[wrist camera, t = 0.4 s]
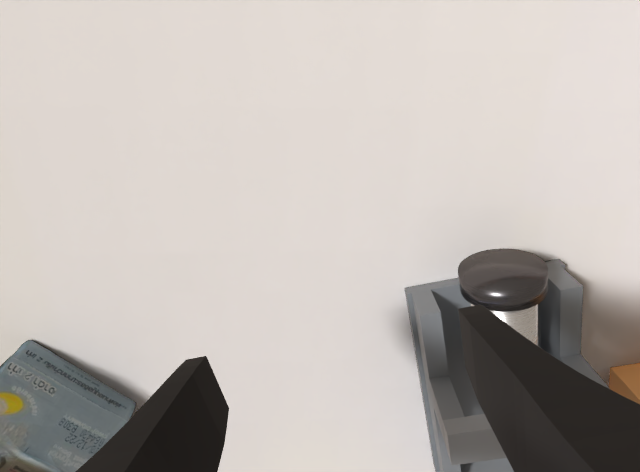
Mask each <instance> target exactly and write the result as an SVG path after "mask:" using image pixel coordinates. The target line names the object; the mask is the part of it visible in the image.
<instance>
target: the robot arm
mask: <svg viewBox="0 0 640 472" xmlns="http://www.w3.org/2000/svg"><path fill="white" fill-rule="evenodd" d="M458 311H459V319H460V327H461V336H462V344H463V352H464V361H465V368H466V370H467V373H468V376H469V379H470V381H471V384H472V387H473V389H474V392H475V394H476V397H477V400H478V402H479V404H480V406H481V408H482V410H483V412H484V414H485V416H486V418H487V420H488V422H489V424H490V426H491V428H492V430H493V432H494V434H495V436H496V438H497V439H498V441H499V443H500V445H501V447H502V449H503V451H504V453H505V455H506V457H507V459H508V461H509V463H510V465H511V467H512V469H513V471H514V472H640V404H638V403H636V402H634V401H632V400H630V399H628V398H626V397H624V396H622V395H620V394H618V393H616V392H614V391H612V390H610V389H608V388H607V387H605V386H603V385H601V384H599V383H597V382H595V381H593V380H591V379H590V378H588V377H586V376H584V375H583V374H581V373H579V372H577V371H576V370H574V369H573V368H571V367H569V366H568V365H566V364H564V363H563V362H561V361H560V360H558V359H557V358H555V357H553V356H552V355H550V354H549V353H547V352H546V351H544V350H543V349H542V348H540V347H539V346H537V345H536V344H534V343H533V342H531V341H530V340H528V339H527V338H526V337H524V336H523V335H521V334H520V333H519V332H517V331H516V330H515V329H513V328H512V327H511V326H509V325H508V324H507V323H505V322H504V321H503V320H501V319H500V318H499V317H497V316H496V315H495V314H494V313H492V312H491V311H490V310H488V309H487V308H486V307H484V306H483V305H481V304H480V305H475V306H470V307H464V308H459V309H458ZM228 411H229V407H228V405H227V403H226V401H225V398H224V396H223V394H222V391H221V389H220V387H219V384H218V382H217V380H216V378H215V375H214V373H213V371H212V368H211V366H210V364H209V362H208V359H207V357H206V356H204V357H199V358H193V359H188V360H186V361H185V362H184V363H183V364H181V365H180V366H179V367H178V368H177V370H176V371H175V372H174V373H173V374H172V375H171V376H170V377H169V378H168V379H167V380H166V381H165V382H164V383H163V384H162V386H161V387H160V388H159V389H158V390H157V391H156V392H155V393H154V394H153V395H152V396H151V397H150V399H149V400H148V401H147V402H146V403H145V404H144V405H143V406H142V407H141V408H140V409H139V410H138V411H137V412H136V414H135V415H134V416H133V417H132V418H131V419H130V420H129V421H128V422H127V423H126V424H125V425H124V426H123V427H122V428H121V429H120V430H119V431H118V432H117V433H116V434H115V435H114V436H113V437H112V438H111V439H110V440H109V441H108V442H107V443H106V444H105V445H104V446H103V447H102V448H101V449H100V450H99V451H98V452H96V453H95V454H94V455H93V456H92V457H91V458H90V459H89V460H88V461H87V462H86V463H85V464H83V465H82V466H81V467H80V468H79V469H78V470H77V471H75V472H217V471H218V467H219V463H220V459H221V455H222V451H223V447H224V442H225V435H226V428H227V420H228Z"/></svg>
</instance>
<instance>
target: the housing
mask: <svg viewBox="0 0 640 472" xmlns="http://www.w3.org/2000/svg"><path fill="white" fill-rule="evenodd" d="M545 263H546V265H547V267H548V293H547V296H546V298H545V299H544V300H543V301H542V302H540V303H539V304H538V346H539V347H540V348H542V349H543V350H544V351H546V352H547V353H549V354H550V355H552V356H553V357H555V358H557V359H558V360H560V361H561V362H563V363H564V364H566V365H568V366H569V367H571V368H573V369H574V370H576V371H577V372H579V373H581V374H583V375H584V376H586V377H588V378H590V379H591V380H593V381H595V382H597V383H599V384H601V385H603V386H605V387H607V388H608V389H610V388H609V387H608V386H607V385H606V383H605V382H604V381H603V380H602V379H601V378H600V376H599V375H598V374H597V373H596V372H595V371H594V369H593V368H592V367H591V366H590V365H589V363H588V362H587V361H586V360H585V359H584V358H583V356H582V355H581V330H582V304H583V286H582V285H581V284H580V283H579V282H578V281H577V280H576V279H575V278H574V277H572V276H571V275H570V274H569V273H568V272H567V271H566V270H565V264H564V263H563V262H562V261H561V260H560V259H557V260H552V261H546V262H545ZM405 294H406V300H407V306H408V312H409V318H410V324H411V330H412V336H413V342H414V348H415V354H416V360H417V366H418V372H419V378H420V384H421V390H422V396H423V402H424V408H425V414H426V420H427V426H428V432H429V438H430V444H431V450H432V456H433V463H434V467H435V471H436V472H514V471H513V469H512V467H511V465H510V463H509V461H508V459H507V457H506V455H505V453H504V451H503V449H502V447H501V445H500V443H499V441H498V439H497V438H496V436H495V434H494V432H493V430H492V428H491V426H490V424H489V422H488V420H487V418H486V416H485V414H484V412H483V410H482V408H481V406H480V404H479V402H478V400H477V397H476V394H475V392H474V389H473V387H472V384H471V381H470V379H469V376H468V373H467V370H466V368H465V361H464V352H463V344H462V336H461V327H460V319H459V311H458V309H459V308H464V307H470V306H471V304H470V303H469V302H468V301H466V300H465V299H464V298H463V296H462V294H461V292H460V285H459V278H455V279H450V280H445V281H439V282H434V283H428V284H423V285H418V286H412V287H407V288H405ZM610 390H611V389H610Z"/></svg>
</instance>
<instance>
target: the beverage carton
mask: <svg viewBox="0 0 640 472" xmlns="http://www.w3.org/2000/svg"><path fill="white" fill-rule="evenodd" d="M135 406H136V403H135V402H134V401H133V400H131V399H129V398H128V397H126V396H124V395H122V394H120V393H119V392H117V391H115V390H114V389H112V388H110V387H108V386H107V385H105V384H103V383H102V382H100V381H98V380H97V379H95V378H94V377H92V376H90V375H89V374H87V373H86V372H84V371H82V370H81V369H79V368H77V367H76V366H74V365H73V364H71V363H69V362H67V361H66V360H64V359H62V358H61V357H59V356H57V355H56V354H54V353H53V352H51V351H50V350H48V349H46V348H44V347H42V346H41V345H39V344H37V343H36V342H34V341H32V340H28V341H26V342H25V343H23V344H22V345H21V346H20V348H19V349H18V350H17V351H16V352H15V353H14V354H13V355H12V356H11V357H9V358H8V359H7V360H6V361H5V362H4V363H3V364H2V365H1V366H0V472H75V471H77V470H78V469H79V468H80V467H81V466H82V465H83V464H85V463H86V462H87V461H88V460H89V459H90V458H91V457H92V456H93V455H94V454H95V453H96V452H98V451H99V450H100V449H101V448H102V447H103V446H104V445H105V444H106V443H107V442H108V441H109V440H110V439H111V438H112V437H113V436H114V435H115V434H116V433H117V432H118V431H119V430H120V429H121V428H122V427H123V426H124V425H125V424H126V423H127V422H128V421H129V420H130V419H131V416H132V414H133V411H134V409H135Z"/></svg>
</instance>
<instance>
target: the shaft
mask: <svg viewBox="0 0 640 472" xmlns="http://www.w3.org/2000/svg"><path fill="white" fill-rule="evenodd" d="M458 275H459V285H460V292H461V294H462V296H463V298H464V299H465V300H466V301H468V302H469V303H470V304H471V306H475V305H480V304H481V305H483V306H484V307H486V308H487V309H488V310H490V311H491V312H492V313H494V314H495V315H496V316H497V317H499V318H500V319H501V320H503V321H504V322H505V323H507V324H508V325H509V326H511V327H512V328H513V329H515V330H516V331H517V332H519V333H520V334H521V335H523V336H524V337H526V338H527V339H528V340H530V341H531V342H533V343H534V344H536V345H537V346H538V304H539V303H540V302H542V301H543V300H544V299H545V298H546V296H547V293H548V267H547V265H546V263H545V262H544V261H543V260H542V259H541V258H539V257H538V256H536V255H534V254H531V253H529V252H525V251H521V250H514V249H492V250H486V251H481V252H478V253H475V254H473V255H471V256H469V257H467V258H466V259H464V260H463V261H462V262H461V263H460V265H459V267H458Z"/></svg>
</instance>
